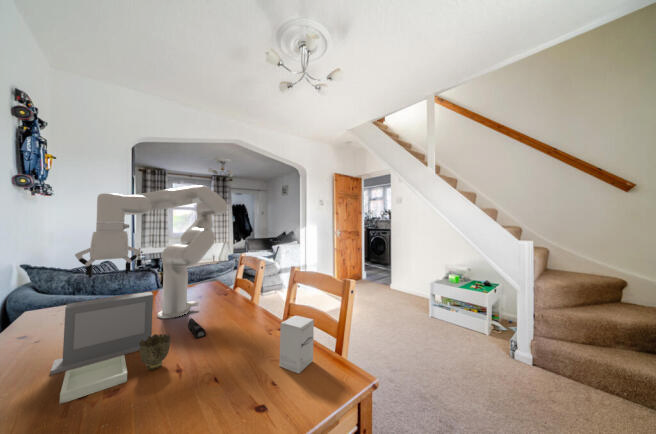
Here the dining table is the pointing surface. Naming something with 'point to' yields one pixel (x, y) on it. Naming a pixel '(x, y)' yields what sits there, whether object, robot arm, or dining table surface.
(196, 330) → the electric trimmer
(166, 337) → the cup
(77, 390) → the parts tray
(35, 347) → the dining table surface
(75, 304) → the grey sign holder
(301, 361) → the supplement box
